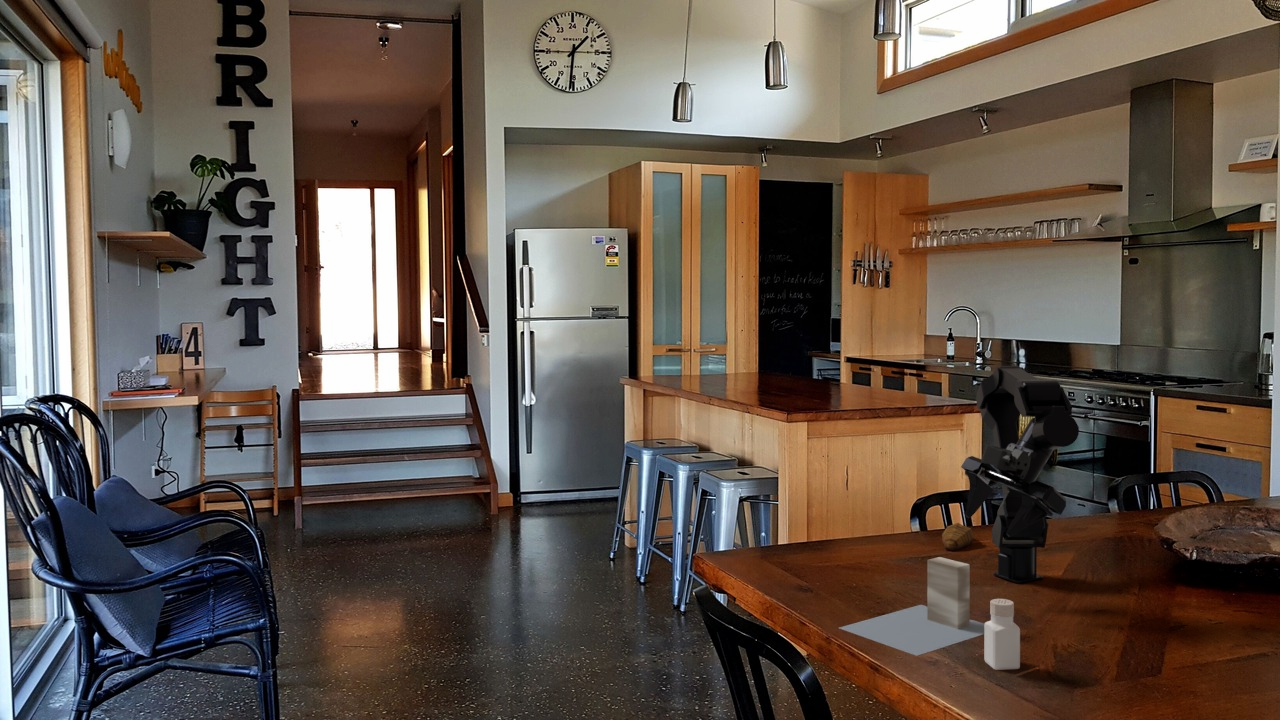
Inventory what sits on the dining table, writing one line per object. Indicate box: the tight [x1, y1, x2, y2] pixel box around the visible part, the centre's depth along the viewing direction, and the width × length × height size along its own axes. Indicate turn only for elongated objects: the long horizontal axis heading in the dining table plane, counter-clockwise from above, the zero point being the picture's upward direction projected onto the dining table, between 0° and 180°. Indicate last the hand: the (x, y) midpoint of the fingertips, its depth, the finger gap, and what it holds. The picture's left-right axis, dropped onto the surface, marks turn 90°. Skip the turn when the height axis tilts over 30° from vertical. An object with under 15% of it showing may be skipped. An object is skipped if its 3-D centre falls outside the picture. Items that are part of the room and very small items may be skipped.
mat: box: [838, 604, 985, 657], centre depth 163 cm, size 20×16×1 cm
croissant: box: [941, 522, 975, 551], centre depth 217 cm, size 14×7×5 cm, turn 148°
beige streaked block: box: [926, 556, 971, 629], centre depth 165 cm, size 3×6×10 cm, turn 35°
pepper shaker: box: [983, 598, 1021, 671], centre depth 146 cm, size 4×4×10 cm
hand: (987, 526), depth 174 cm, fingers open, 9 cm apart
